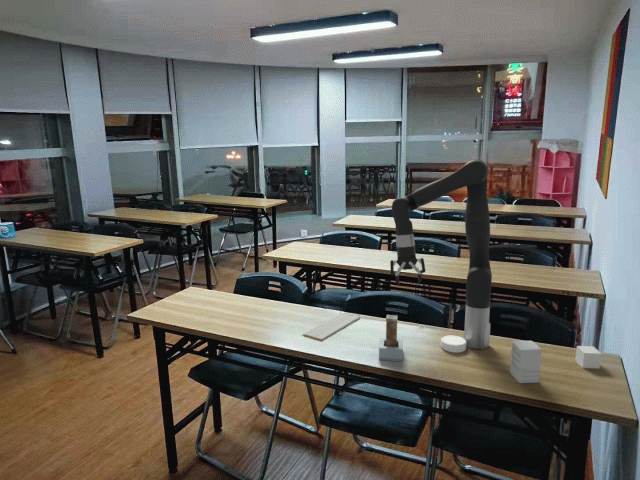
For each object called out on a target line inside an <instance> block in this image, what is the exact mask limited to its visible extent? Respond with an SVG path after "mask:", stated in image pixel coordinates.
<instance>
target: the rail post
mask: <svg viewBox="0 0 640 480" xmlns="http://www.w3.org/2000/svg"><path fill="white" fill-rule="evenodd" d="M398 317H399V316H398V315H397V314H395V315H394V314H386V317H385V322H386V323H385V324H386V325H385V339H386V346H387V347H397V339H398Z"/></svg>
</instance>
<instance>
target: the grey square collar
mask: <svg viewBox="0 0 640 480" xmlns="http://www.w3.org/2000/svg"><path fill="white" fill-rule="evenodd" d="M378 345H379V347H378V360H379V361H386V362H387V361H390V362H404V359H403V357H404V339H399V338H397V347H387V346H386V338H383V337H382V338H380V339H379V344H378Z"/></svg>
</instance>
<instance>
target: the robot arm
mask: <svg viewBox="0 0 640 480" xmlns="http://www.w3.org/2000/svg"><path fill="white" fill-rule="evenodd" d="M488 179H489V167H488V165H487V163H486V162H484V161H483V160H482V159H478V158H476V159H472V160H469V161H468V162H466V163H465V164H464V165H463V166H462V167H460V168H459V169H458V170H456V171H455V172H453V173H451V174H448V175H447V176H445V177H442V178H440V179H438V180H435V181H433V182H430V183H427V184H425V185H424V186H421V187H420V188H417V189H415V190H414V191H413V192H411V193H409V194H407V195H405V196H403V197H397V198H395V199H394V200H393V201H392V204H391V212H392V216H393V221H394V225H395V242H396V243H395V245H396V246H395V247H396V254H397V255H396V256H397V258H396V259H395V260H394V259H391V260H390V262H389V263H390V265H389V266H390V275H392V276H394V277H395V283H396V284H397V285H398V286H399V285H400V276H399V274H400V272H401V271H402V270H403V271H407V270H410V271H411V270H414V271H415V272H416V273H417V280H418V281H417V283H418V284H421V283H422V275H423V274H424V273H426V265H425V260H424V259H425V258H424V257H420V258H417V256H416V255H417V254H416V242H415V237H414V236H415V235H414V227H413V223H412V220H411V219H410V213H412V212H413V211H416V209H418V208H420V207H423V206H426V205H427V204H429V203H432V202H435V201H437V200H439V199H441V198H442V197H444V196H446V195H448V194H450V193H452V192H454V191H457V190H459V189H462V188H466V197H467V199H466V204H465V215H464V216H465V217H464V225H465V229H464V230H465V237H466V243H467V246H468V251H469V265H468V273H467V277H466V284H465V285H466V289H465V290H466V291H465V315H464V334H463V338H464V339H465V340H466V342H467V343H466V348H470V349H475V350H483V351H484V350H485V349H487V348H488V347H489V345H490V340H491V339H490V336H491V322H490V312H491V311H490V309H491V295H492V294H491V293H492V281H493V280H492V279H493V275H492V274H493V273H492V269H491V264H490V255H489V251H490V240H491V239H490V238H491V220H490V210H489V201H488ZM417 263H419V264H421V265H420V266H421V269H419V268H418V267H417V266H416V264H417ZM395 265H398V268H397V270H396V271H395V269H394V268H395V267H394V266H395Z"/></svg>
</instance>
